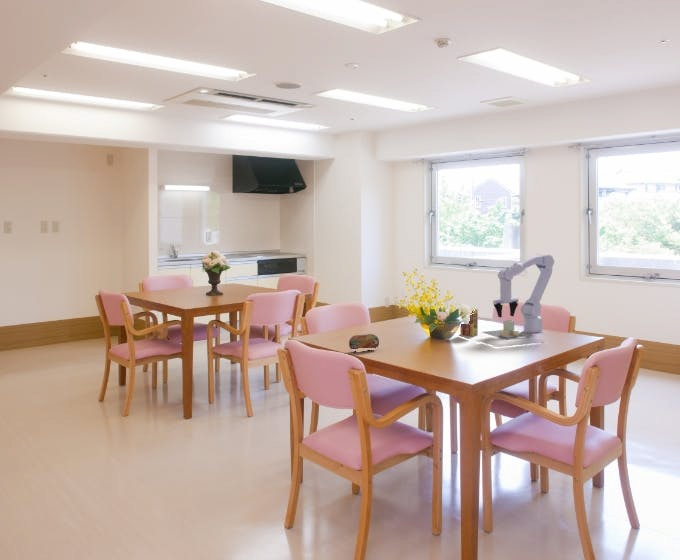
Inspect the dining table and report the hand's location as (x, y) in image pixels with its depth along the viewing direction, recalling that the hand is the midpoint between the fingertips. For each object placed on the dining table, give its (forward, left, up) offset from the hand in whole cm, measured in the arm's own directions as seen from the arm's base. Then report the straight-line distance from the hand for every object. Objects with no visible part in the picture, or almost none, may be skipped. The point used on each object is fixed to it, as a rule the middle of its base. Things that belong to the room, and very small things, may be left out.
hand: (505, 316), depth 321 cm
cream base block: (+2, +6, -9) cm, 11 cm away
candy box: (+19, -6, -11) cm, 23 cm away
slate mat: (+2, +2, -10) cm, 11 cm away
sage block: (+2, +6, -6) cm, 9 cm away
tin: (+83, +5, -11) cm, 84 cm away
